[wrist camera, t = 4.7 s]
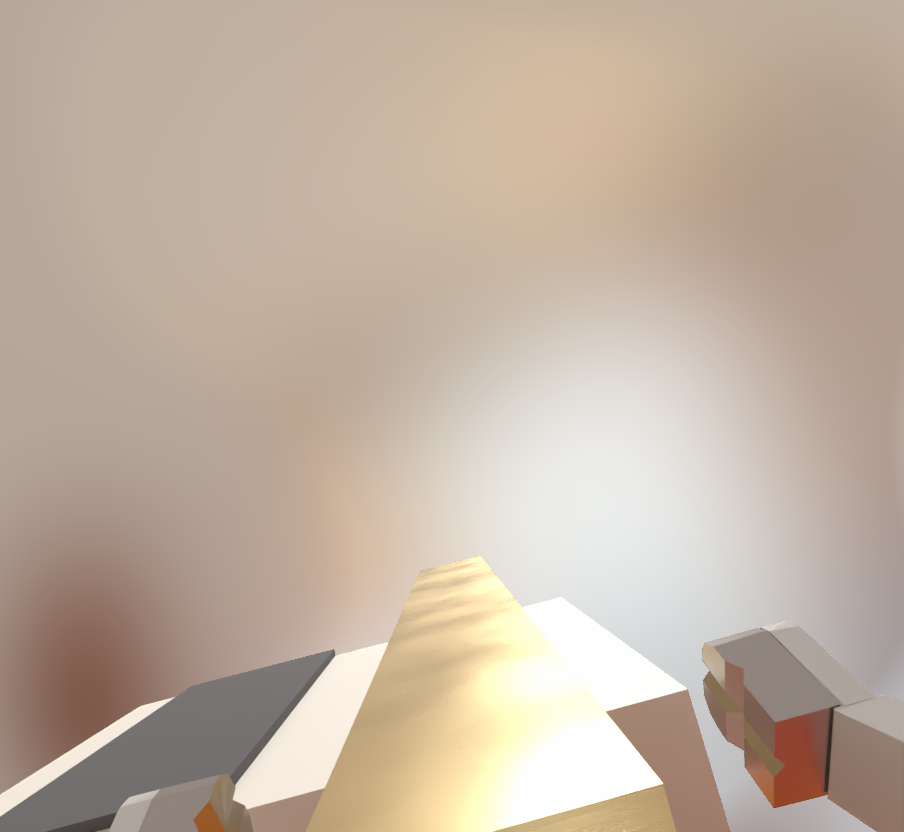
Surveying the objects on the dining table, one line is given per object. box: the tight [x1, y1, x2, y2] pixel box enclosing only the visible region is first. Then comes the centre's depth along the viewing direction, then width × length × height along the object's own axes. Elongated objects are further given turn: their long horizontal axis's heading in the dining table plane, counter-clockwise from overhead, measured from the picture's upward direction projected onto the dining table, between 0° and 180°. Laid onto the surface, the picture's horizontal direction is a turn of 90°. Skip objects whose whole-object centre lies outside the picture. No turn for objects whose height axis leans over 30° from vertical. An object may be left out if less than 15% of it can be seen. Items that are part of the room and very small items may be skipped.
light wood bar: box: [306, 556, 677, 832], centre depth 15 cm, size 3×22×3 cm, turn 1°
